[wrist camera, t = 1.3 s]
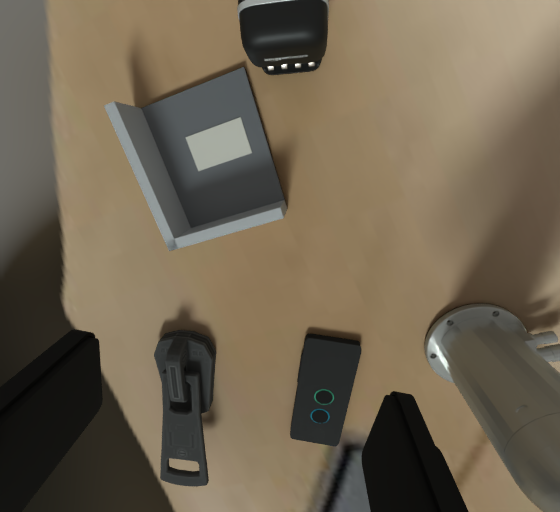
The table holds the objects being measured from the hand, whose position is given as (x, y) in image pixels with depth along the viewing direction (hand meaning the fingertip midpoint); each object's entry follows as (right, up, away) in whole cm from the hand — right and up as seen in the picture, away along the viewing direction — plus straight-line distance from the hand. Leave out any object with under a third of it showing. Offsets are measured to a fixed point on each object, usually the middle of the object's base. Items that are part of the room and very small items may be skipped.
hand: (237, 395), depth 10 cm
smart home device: (+8, -16, +37) cm, 41 cm away
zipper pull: (-13, -18, +40) cm, 46 cm away
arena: (-7, +16, +26) cm, 31 cm away
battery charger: (+3, +25, +22) cm, 34 cm away
